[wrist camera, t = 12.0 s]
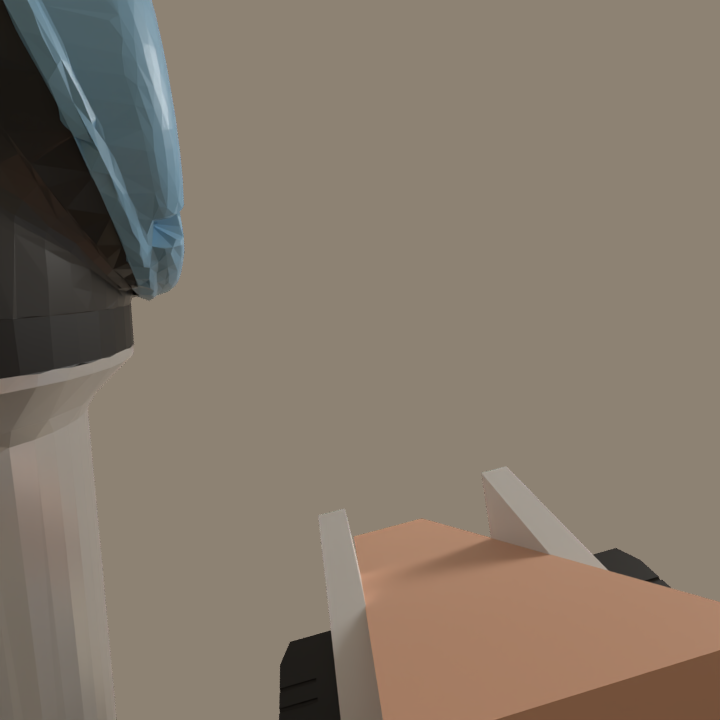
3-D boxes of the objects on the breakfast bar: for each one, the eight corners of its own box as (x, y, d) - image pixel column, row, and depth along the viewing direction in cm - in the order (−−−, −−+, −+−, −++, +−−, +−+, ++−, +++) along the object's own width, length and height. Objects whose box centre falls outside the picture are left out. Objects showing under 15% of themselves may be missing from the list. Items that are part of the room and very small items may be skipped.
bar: (547, 1461, 3) (387, 752, 4) (371, 612, 26) (353, 536, 27) (1068, 1224, 3) (802, 624, 5) (441, 592, 27) (421, 518, 28)
